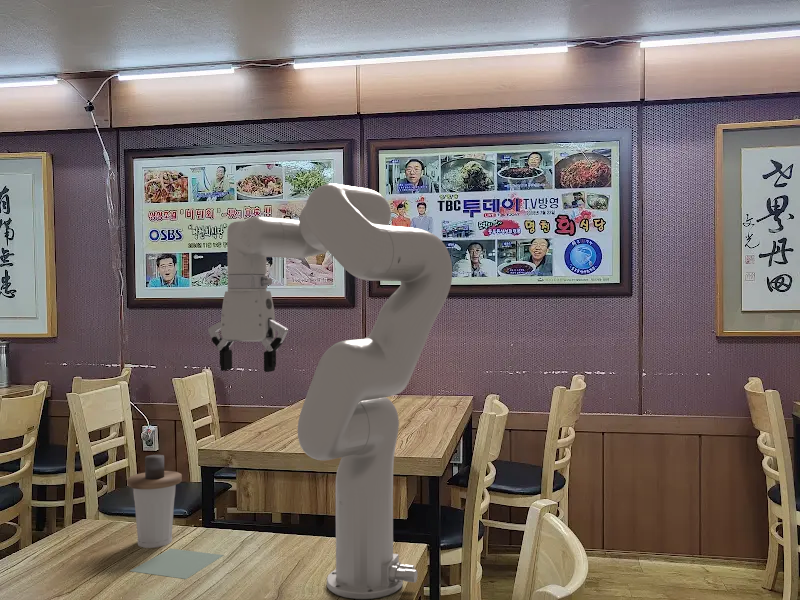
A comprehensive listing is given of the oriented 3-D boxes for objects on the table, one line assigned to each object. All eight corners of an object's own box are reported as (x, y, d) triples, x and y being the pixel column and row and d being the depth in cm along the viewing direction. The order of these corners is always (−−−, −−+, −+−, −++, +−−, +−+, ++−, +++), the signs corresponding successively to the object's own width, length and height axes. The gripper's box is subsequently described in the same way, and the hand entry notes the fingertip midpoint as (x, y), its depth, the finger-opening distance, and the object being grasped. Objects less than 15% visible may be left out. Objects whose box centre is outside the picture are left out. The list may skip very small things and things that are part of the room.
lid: (192, 477, 140) (191, 452, 140) (160, 491, 131) (160, 464, 131) (149, 474, 143) (149, 449, 143) (115, 487, 134) (115, 460, 134)
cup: (162, 552, 132) (162, 488, 132) (124, 549, 134) (124, 486, 134) (184, 538, 140) (183, 478, 140) (147, 535, 142) (147, 476, 142)
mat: (223, 557, 130) (223, 555, 130) (186, 581, 119) (186, 578, 119) (170, 550, 133) (170, 548, 133) (129, 573, 122) (129, 570, 122)
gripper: (295, 284, 140) (295, 370, 140) (219, 285, 146) (220, 367, 146) (277, 283, 133) (277, 373, 133) (198, 284, 139) (199, 371, 139)
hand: (247, 370), depth 140 cm, fingers open, 9 cm apart
